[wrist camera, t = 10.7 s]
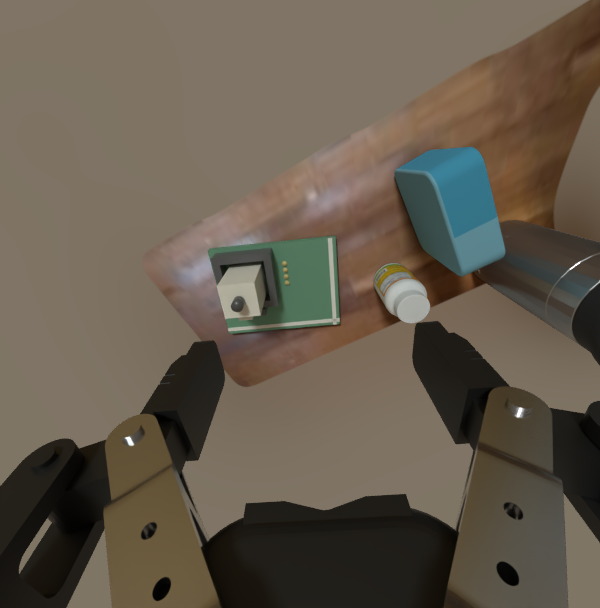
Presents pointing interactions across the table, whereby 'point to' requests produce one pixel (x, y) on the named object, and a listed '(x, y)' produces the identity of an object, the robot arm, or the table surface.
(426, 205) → the data package
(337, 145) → the table surface
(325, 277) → the header board
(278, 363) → the table surface
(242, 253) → the frame
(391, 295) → the supplement bottle
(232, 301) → the plug
